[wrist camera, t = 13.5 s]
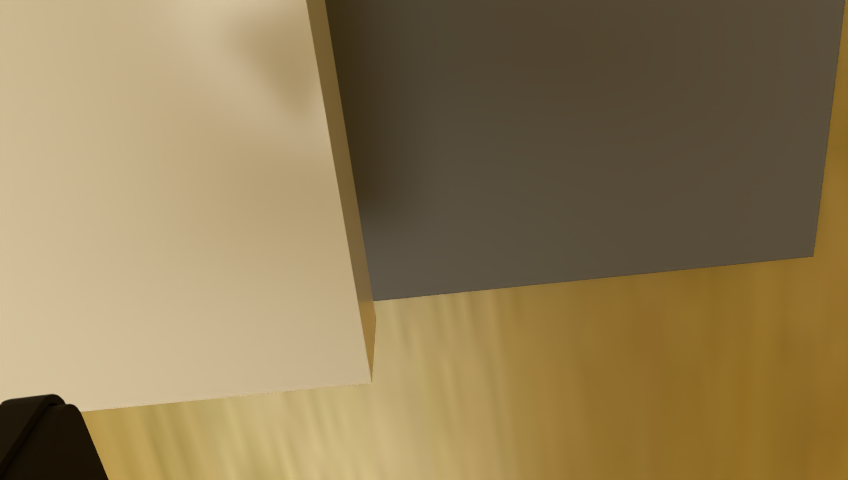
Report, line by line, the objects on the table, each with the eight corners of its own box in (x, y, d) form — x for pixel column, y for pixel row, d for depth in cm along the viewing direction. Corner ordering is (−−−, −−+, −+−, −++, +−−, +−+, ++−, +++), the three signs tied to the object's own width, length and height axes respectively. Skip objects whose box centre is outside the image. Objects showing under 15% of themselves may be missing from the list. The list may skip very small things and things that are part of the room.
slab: (376, 319, 23) (371, 382, 21) (-162, 373, 24) (-235, 442, 21) (302, -138, 18) (283, -132, 15) (-392, -54, 18) (-528, -33, 16)
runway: (801, 297, 30) (933, 457, 22) (-442, 421, 32) (-709, 608, 24) (886, -415, 20) (1168, -558, 13) (-897, -181, 22) (-1578, -185, 15)
